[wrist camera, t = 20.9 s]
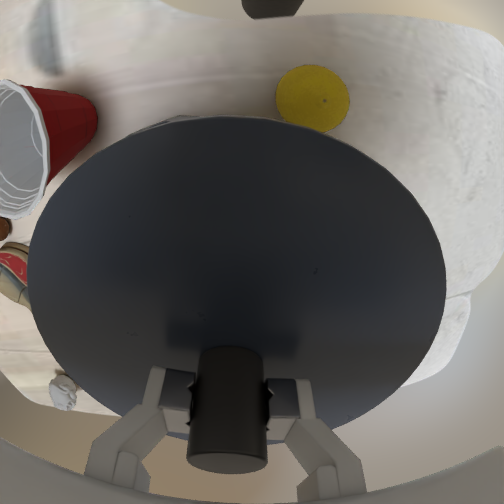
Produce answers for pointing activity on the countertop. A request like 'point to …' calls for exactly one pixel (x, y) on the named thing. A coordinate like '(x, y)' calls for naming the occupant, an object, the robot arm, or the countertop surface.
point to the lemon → (312, 97)
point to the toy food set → (13, 268)
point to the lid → (236, 276)
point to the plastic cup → (38, 141)
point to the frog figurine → (63, 392)
